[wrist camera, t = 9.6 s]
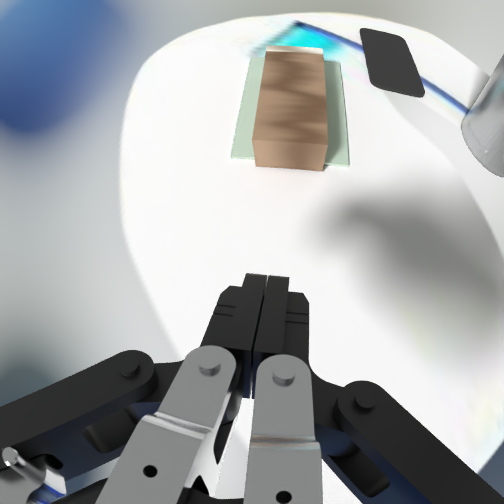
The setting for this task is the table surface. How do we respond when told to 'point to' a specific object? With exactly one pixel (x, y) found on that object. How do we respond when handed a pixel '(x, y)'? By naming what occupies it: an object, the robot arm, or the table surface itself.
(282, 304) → the robot arm
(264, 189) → the table surface
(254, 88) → the green mat
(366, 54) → the phone
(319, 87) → the walnut block
